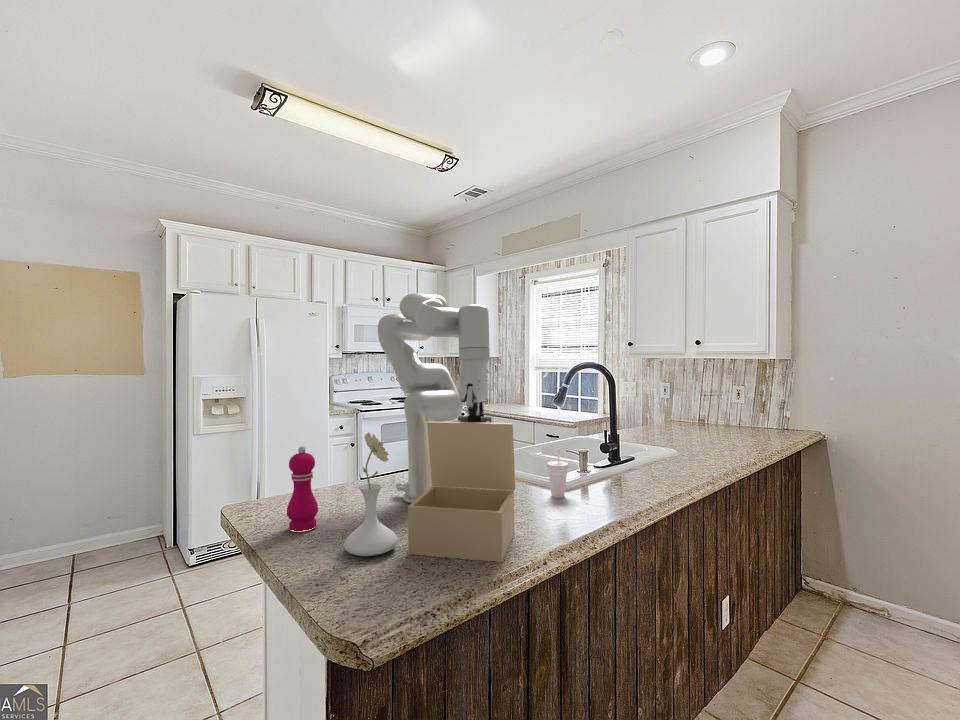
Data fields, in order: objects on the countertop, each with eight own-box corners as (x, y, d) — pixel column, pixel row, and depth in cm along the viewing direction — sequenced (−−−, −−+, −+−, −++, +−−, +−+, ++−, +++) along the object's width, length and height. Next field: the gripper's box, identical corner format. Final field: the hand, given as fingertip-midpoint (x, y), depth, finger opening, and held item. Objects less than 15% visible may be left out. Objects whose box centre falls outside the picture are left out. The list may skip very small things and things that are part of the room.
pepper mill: (288, 536, 110) (287, 450, 110) (285, 526, 116) (284, 445, 116) (320, 530, 113) (319, 447, 113) (316, 521, 119) (315, 442, 119)
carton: (408, 554, 99) (407, 506, 99) (433, 527, 114) (432, 486, 114) (502, 562, 94) (501, 512, 94) (514, 533, 110) (514, 490, 110)
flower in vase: (401, 557, 97) (400, 436, 97) (343, 565, 94) (342, 440, 94) (394, 535, 110) (393, 428, 110) (343, 540, 106) (342, 430, 106)
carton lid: (427, 422, 111) (436, 413, 118) (431, 486, 114) (440, 474, 121) (512, 424, 107) (516, 415, 113) (514, 490, 110) (519, 477, 116)
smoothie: (573, 495, 139) (572, 448, 139) (561, 500, 135) (560, 451, 135) (555, 491, 144) (554, 445, 144) (542, 496, 139) (542, 449, 139)
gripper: (468, 357, 124) (469, 426, 123) (449, 355, 108) (451, 435, 108) (496, 356, 122) (497, 427, 122) (481, 354, 106) (483, 436, 106)
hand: (476, 430), depth 115 cm, fingers closed on carton lid, 2 cm apart
